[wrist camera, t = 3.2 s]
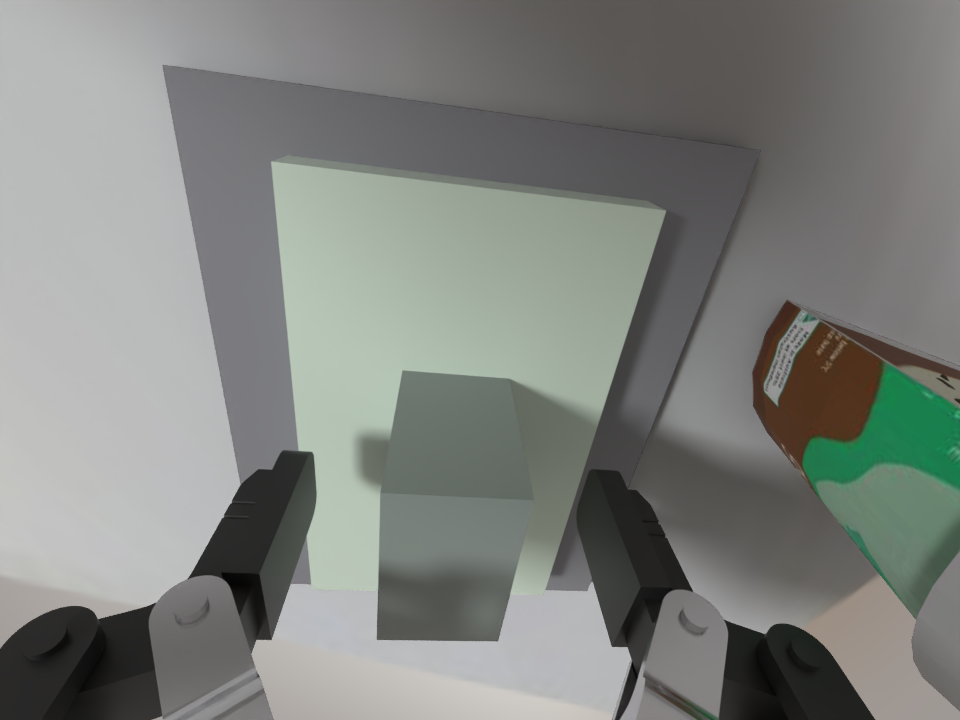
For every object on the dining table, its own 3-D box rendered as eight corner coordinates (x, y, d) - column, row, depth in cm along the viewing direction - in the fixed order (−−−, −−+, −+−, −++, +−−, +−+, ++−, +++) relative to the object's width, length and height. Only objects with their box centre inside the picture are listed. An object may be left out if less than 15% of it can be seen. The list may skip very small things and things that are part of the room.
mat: (264, 569, 19) (259, 582, 19) (177, 66, 10) (162, 64, 10) (583, 578, 21) (587, 591, 20) (747, 148, 12) (760, 150, 11)
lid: (319, 561, 18) (270, 734, 13) (288, 155, 11) (149, 202, 6) (538, 567, 19) (569, 731, 14) (647, 200, 12) (790, 273, 7)
